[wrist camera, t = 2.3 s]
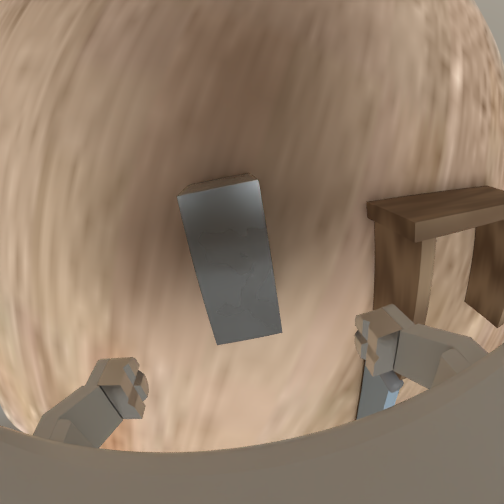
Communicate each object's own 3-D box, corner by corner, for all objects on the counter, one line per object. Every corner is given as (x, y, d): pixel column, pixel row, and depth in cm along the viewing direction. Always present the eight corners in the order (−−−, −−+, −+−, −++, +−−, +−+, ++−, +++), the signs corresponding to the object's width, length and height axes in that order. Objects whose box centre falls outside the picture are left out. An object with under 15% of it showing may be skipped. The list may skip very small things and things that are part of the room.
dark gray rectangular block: (189, 185, 18) (176, 196, 13) (249, 173, 18) (258, 179, 13) (217, 303, 21) (217, 345, 16) (269, 293, 21) (282, 332, 16)
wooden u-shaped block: (366, 201, 19) (415, 222, 13) (486, 185, 20) (530, 199, 14) (365, 340, 24) (393, 383, 18) (473, 297, 24) (505, 322, 19)
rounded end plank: (377, 341, 24) (405, 378, 18) (363, 423, 29) (377, 454, 24) (365, 345, 24) (390, 384, 18) (353, 427, 29) (367, 458, 24)
